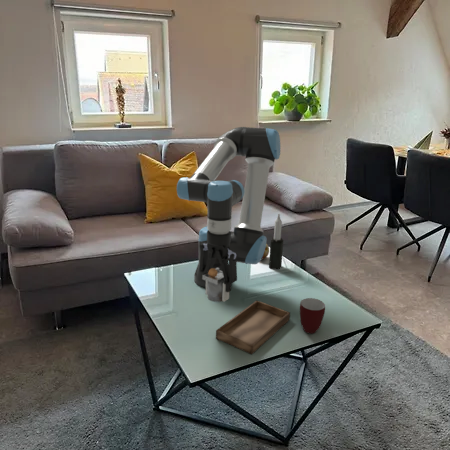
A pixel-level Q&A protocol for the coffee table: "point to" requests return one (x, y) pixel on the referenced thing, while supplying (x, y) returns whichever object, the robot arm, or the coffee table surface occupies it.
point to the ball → (212, 272)
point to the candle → (276, 246)
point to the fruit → (266, 252)
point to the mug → (311, 314)
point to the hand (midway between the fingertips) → (217, 296)
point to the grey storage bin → (214, 286)
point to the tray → (253, 326)
